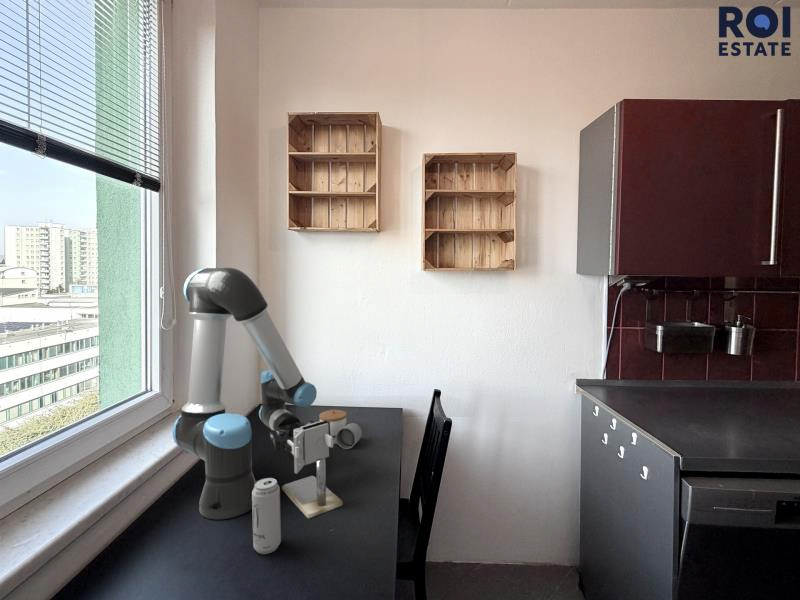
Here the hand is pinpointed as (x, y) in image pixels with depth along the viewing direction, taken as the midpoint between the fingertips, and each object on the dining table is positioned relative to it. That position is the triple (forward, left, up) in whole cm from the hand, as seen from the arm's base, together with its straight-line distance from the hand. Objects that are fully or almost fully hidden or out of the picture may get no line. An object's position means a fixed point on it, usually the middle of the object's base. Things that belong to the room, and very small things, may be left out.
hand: (315, 447), depth 112 cm
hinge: (0, +4, -6) cm, 8 cm away
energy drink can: (-18, -12, -15) cm, 26 cm away
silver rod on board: (-1, +2, -14) cm, 14 cm away
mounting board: (-1, +2, -15) cm, 15 cm away
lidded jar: (+26, +40, -15) cm, 50 cm away
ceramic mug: (+25, +27, -15) cm, 40 cm away
